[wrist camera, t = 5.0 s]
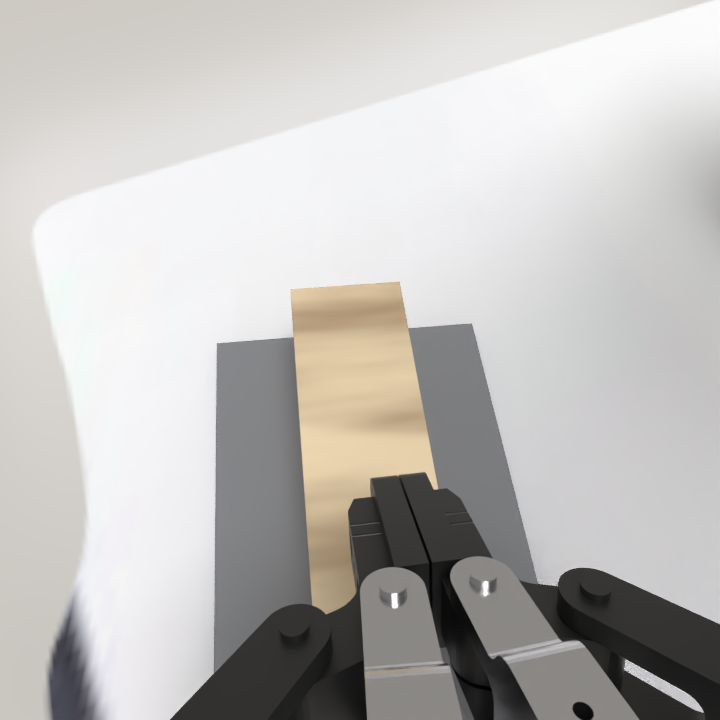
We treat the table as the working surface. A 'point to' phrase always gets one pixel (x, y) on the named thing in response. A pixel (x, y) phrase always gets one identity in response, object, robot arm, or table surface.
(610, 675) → the robot arm
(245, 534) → the rubber mat
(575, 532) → the table surface
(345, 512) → the oak block
